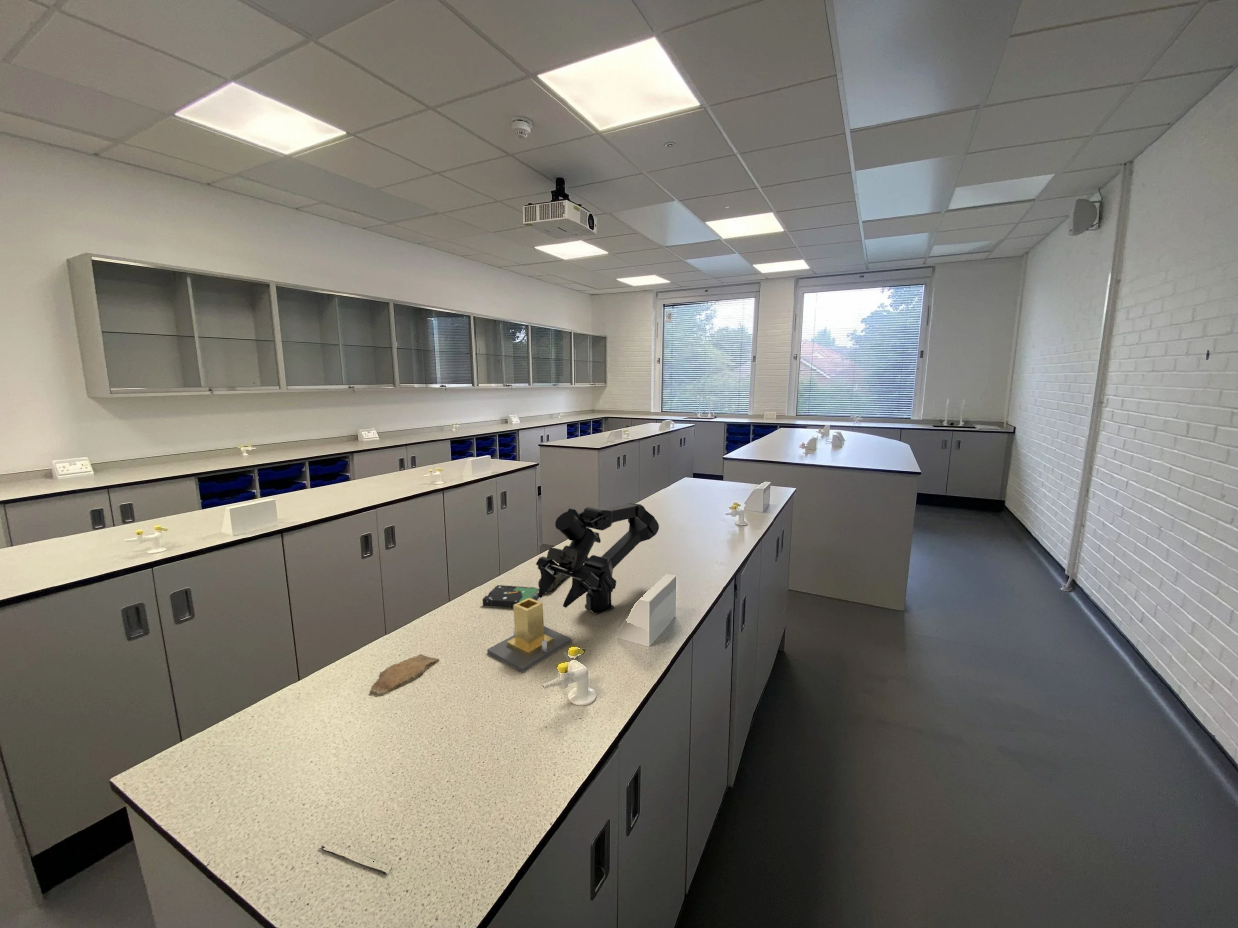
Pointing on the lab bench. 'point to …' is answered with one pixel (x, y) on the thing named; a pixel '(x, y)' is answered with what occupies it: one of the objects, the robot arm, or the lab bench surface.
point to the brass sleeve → (528, 627)
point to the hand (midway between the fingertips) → (551, 601)
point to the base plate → (525, 662)
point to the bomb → (555, 583)
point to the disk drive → (509, 596)
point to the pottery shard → (402, 673)
